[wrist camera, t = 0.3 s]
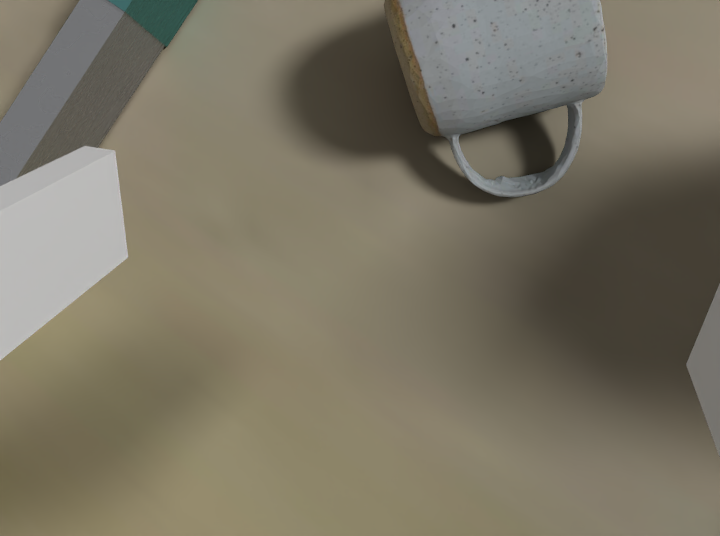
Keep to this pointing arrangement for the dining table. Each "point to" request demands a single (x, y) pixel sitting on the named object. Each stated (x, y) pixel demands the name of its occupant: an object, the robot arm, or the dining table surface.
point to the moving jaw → (85, 79)
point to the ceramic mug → (499, 69)
